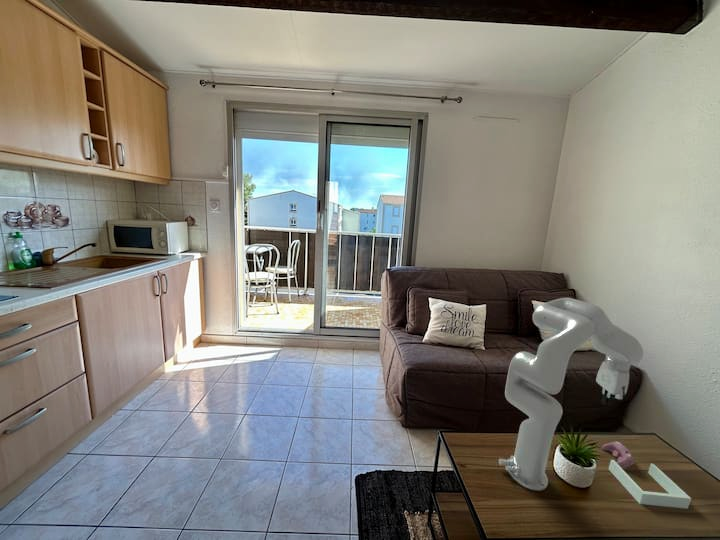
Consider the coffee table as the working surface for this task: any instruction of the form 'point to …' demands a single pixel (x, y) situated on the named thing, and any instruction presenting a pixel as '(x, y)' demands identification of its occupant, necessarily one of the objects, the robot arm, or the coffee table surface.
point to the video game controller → (620, 453)
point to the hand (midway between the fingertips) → (606, 404)
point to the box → (653, 498)
